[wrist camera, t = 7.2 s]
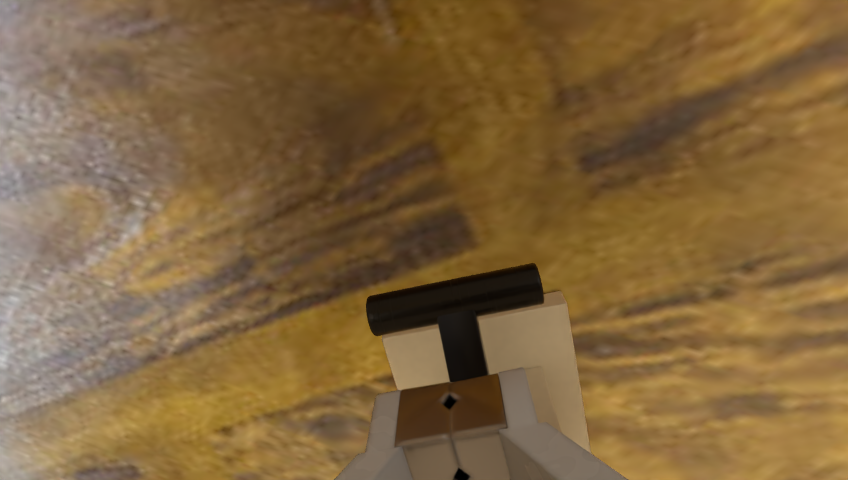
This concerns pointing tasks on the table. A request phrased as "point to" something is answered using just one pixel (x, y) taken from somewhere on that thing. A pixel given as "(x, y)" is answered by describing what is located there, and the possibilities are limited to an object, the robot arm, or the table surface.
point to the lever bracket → (508, 360)
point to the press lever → (457, 312)
